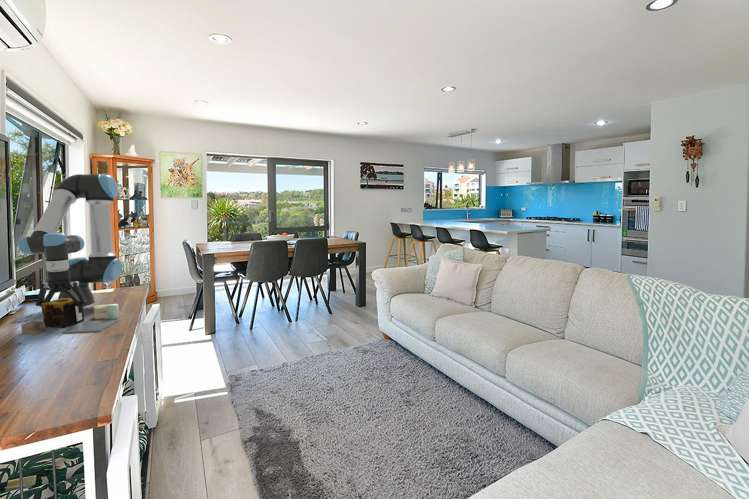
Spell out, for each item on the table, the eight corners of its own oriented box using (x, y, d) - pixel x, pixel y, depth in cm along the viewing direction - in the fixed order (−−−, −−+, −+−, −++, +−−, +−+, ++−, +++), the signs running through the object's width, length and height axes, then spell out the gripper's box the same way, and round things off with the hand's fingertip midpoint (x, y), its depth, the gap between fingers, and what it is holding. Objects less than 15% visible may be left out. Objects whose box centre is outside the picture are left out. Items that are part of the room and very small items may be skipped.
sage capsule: (110, 317, 181) (109, 304, 180) (121, 316, 181) (120, 303, 180) (105, 320, 176) (104, 306, 176) (116, 319, 177) (115, 306, 176)
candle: (63, 328, 166) (61, 304, 164) (42, 327, 167) (40, 303, 166) (85, 320, 176) (82, 298, 174) (65, 319, 177) (62, 297, 176)
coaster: (82, 322, 172) (82, 321, 172) (117, 321, 174) (117, 319, 174) (62, 333, 159) (61, 332, 159) (100, 331, 161) (100, 330, 161)
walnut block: (34, 330, 164) (33, 320, 163) (45, 330, 163) (44, 321, 162) (22, 334, 159) (21, 324, 158) (33, 334, 158) (32, 325, 157)
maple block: (96, 316, 182) (95, 305, 181) (109, 314, 184) (108, 304, 184) (94, 319, 178) (93, 308, 177) (108, 317, 180) (107, 306, 179)
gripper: (20, 272, 163) (26, 325, 166) (84, 270, 166) (89, 322, 169) (33, 269, 171) (39, 319, 173) (94, 267, 174) (99, 316, 177)
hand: (64, 321), depth 171 cm, fingers closed on candle, 11 cm apart
